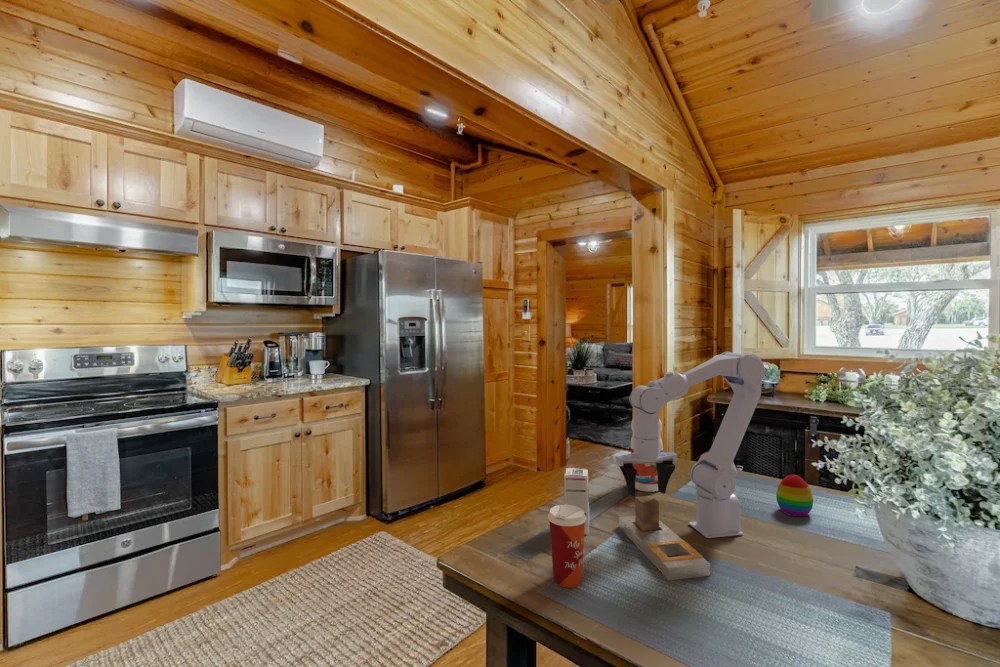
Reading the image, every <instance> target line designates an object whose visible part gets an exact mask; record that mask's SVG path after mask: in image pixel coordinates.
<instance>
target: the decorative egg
mask: <svg viewBox="0 0 1000 667" xmlns="http://www.w3.org/2000/svg"><path fill="white" fill-rule="evenodd" d="M775 497H776V503H777V504H778V506H779V508H780V510H781V511H782V513H784V514H786V515H788V514H789V516H792V515H793V516H792V517H797V516H803V517H806V516H808V515H809V514H810V512H812V510H813V504H814V496H813V493H812V490H811V488H810V486H809V485H808V483H807V482H806V481H805V480H804V479H803V478H802V477H801V476H799V475H797V474H788V475H787V476H785V477H784V478H783V479H782V480H781V481H780V482H779V483H778V485H777V489H776V496H775Z"/></svg>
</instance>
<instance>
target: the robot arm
mask: <svg viewBox="0 0 1000 667" xmlns="http://www.w3.org/2000/svg"><path fill="white" fill-rule="evenodd" d="M766 372H767V369H766V367H765V365H764V362H763V360H762V359H761V357H760V356H758V355H756V354H753V353H748V354H747V353H740V352H732V351H724V352H722V353H721V354H717V355H714V356H713V357H712V358H710V359H708V360H706V361H705V362H703V363H701V364H698V365H697V366H695V367H693V368H690V369H689V370H687V371H685V372H683V373H679V372H676V371H674V372H672V371H669V372H666V373H665V376H663V377H661V378H660V377H659V379H656V380H649V381H648V383H647V385H642V384H641V385H637V386H636V387H634V388H633V390H632V391H631V392H630V395H629V396H628V402H629V403H630V405H631V406H632V408H633V418H634V453H631V452H630V453H627V454H620V455H615V464H616V465H617V466H618V467H619V469H620V470H621V473H622V475H623V477H624V480H625V483H626V487H627V492H628V494H629V495H630V496H631V497H636V489H635V479H636V473H637V470H636V469H634V466H633V464H646V463H656V466H657V473H658V491H657V492H660V493H661V494H664V495H665V494H666V490H667V487H668V484H669V481H670V479H671V477H672V475H673V473H674V472H675V470H676V464H675V463H678V454H677V453H675V452H674V451H667V452H666V451H663V452H659V419H660V411H661V410H662V409H663V407H664V405H666V404H667V403H670V402H672V401H674V400H676V399H679V398H680V397H683V396H685V395H687V393H688V391H689V389H690V387H692V386H695V385H697V384H699V383H700V384H701V383H702V382H704V381H707V380H710V379H712V378H715V377H717V376H721V377H722V378H723V379H724V380H725V381H726V382H727V383H728V384H729V385H730V388H731V389H732V391H733V394H732V398H731V399H730V403H729V405H728V407H727V409H726V411H725V414H724V417H723V418H722V421H721V423H720V425H719V428H718V430H717V432H716V435H715V438H714V440H713V443H712V445H711V447H710V449H709V451H706V452H704V453H702V454H701V455H700V457H699V458H698V461H697V462H696V463H695V464H693V465H692V467H691V470H690V472H689V476H690V479H691V481H692V483H693V484H694V485H695V488H694V489H695V492H696V493H695V494H696V495H695V496H696V497H695V499H696V500H695V501H696V502H695V503H696V504H695V505H696V506H695V507H696V508H695V509H696V511H695V514H696V515H695V518H696V519H695V521H694V520H693V521H688V525H690V527H692V528H693V529H694V530H696V531H697V532H698V533H700V534H701V535H702V536H703V537H705V538H707V539H712V538H714V539H715V538H720V537H721V538H724V537H734V536H743V534H744V532H743V531H742V530H741V529H742V528H741V525H742V522H741V517H742V514H741V511H742V509H741V503H740V501H739V499H738V498H739V497H737V495H736V494H734V492H735V490H736V479H737V475H738V470H737V467H736V465H735V463H734V460H735V458H736V455H737V453H738V451H739V448H740V445H741V444H742V441H743V439H744V436H745V434H746V431H747V429H748V426H749V424H750V422H751V420H752V417H753V415H754V413H755V410H756V407H757V405H758V403H759V401H760V398H761V395H762V386H763V385H762V381H763V378H764V376H765V374H766Z"/></svg>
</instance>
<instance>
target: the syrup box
mask: <svg viewBox="0 0 1000 667" xmlns="http://www.w3.org/2000/svg"><path fill="white" fill-rule="evenodd" d="M563 481H564V482H563V484H564V488H563V490H564V491H563V492H564V505H573V506H577V507H579V508H581V509H582V510H583V511H584V515H585V516H586V521H585V527H584V535H587V536H588V535H589V534H590V494H589V491H590V490H589V489H590V488H589V470H588V468H582V467H569V468H568V467H566V468H565V471H564V475H563Z"/></svg>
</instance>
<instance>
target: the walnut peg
mask: <svg viewBox="0 0 1000 667" xmlns="http://www.w3.org/2000/svg"><path fill="white" fill-rule="evenodd" d="M634 497H635V498H634V505H635V507H634V508H635V511H634V513H635V514H634V516H635V526H636V527H637V528H638V529H639V530H640V531H641V532H647V531H658V530H659V520H660V509H659V508H660V502H659V501H658V500H657V499H656V498H655V497H653V496H652V495H643V496H634Z"/></svg>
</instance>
